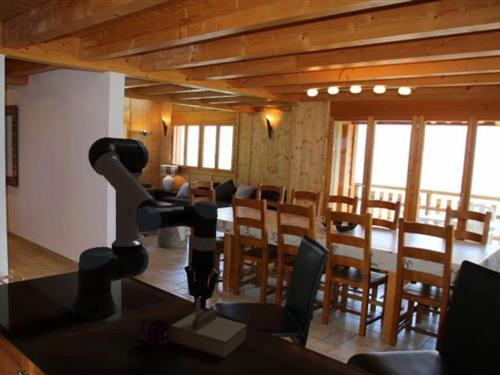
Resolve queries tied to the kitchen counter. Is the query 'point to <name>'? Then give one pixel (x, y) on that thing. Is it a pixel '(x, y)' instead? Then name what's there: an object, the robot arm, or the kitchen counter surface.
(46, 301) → the kitchen counter surface
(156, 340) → the mug
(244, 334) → the beige open box
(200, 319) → the lid
